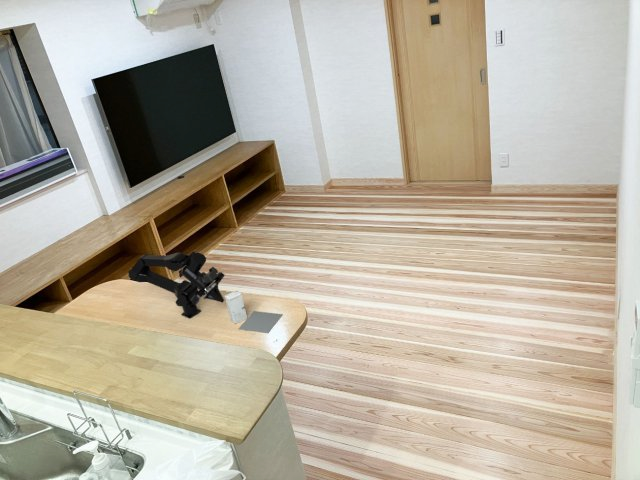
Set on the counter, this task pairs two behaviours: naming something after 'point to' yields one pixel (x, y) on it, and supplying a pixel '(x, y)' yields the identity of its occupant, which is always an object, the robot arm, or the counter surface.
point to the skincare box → (236, 307)
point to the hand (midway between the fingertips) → (223, 301)
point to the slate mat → (260, 322)
